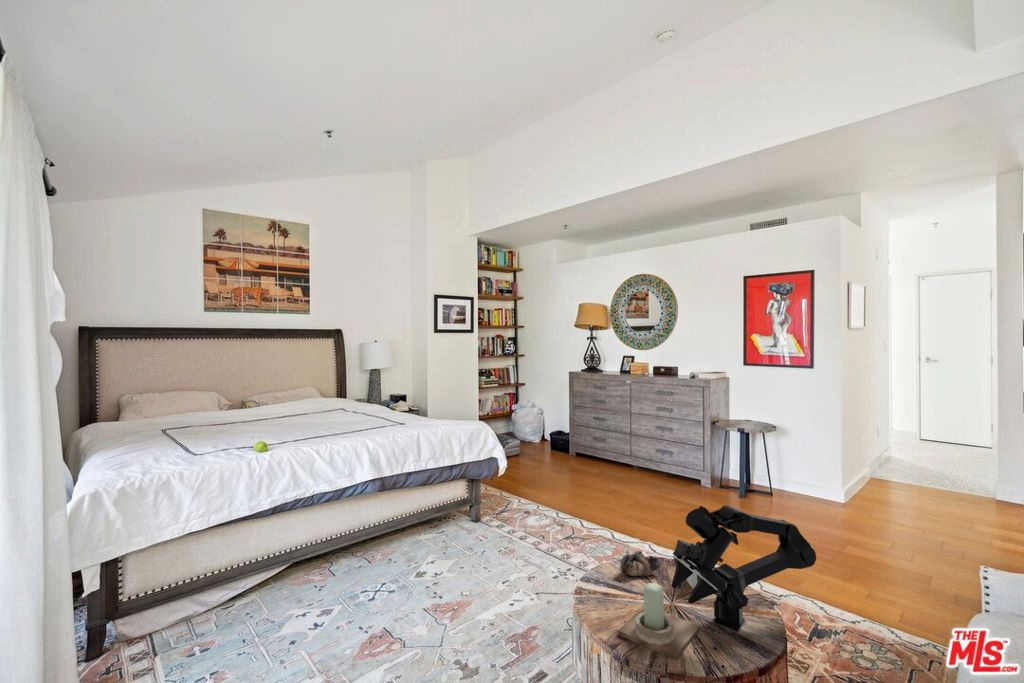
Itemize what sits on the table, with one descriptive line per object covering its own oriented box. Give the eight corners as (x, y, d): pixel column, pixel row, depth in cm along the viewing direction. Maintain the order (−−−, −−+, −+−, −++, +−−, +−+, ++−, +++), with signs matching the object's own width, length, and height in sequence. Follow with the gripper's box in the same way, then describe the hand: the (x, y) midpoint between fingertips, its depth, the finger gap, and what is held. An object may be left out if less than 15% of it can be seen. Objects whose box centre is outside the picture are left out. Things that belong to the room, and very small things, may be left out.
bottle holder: (699, 630, 129) (699, 614, 129) (676, 660, 117) (676, 643, 117) (644, 609, 140) (644, 594, 140) (618, 634, 128) (617, 619, 128)
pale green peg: (662, 628, 128) (661, 583, 128) (665, 639, 124) (665, 593, 124) (643, 626, 129) (642, 582, 129) (645, 638, 124) (645, 592, 124)
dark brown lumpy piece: (617, 576, 160) (643, 586, 153) (616, 555, 161) (642, 563, 153) (637, 565, 168) (663, 573, 161) (636, 545, 169) (662, 552, 161)
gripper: (675, 519, 141) (644, 563, 138) (710, 540, 122) (675, 591, 120) (703, 542, 141) (672, 587, 139) (742, 567, 123) (707, 618, 120)
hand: (680, 594), depth 129 cm, fingers open, 9 cm apart
